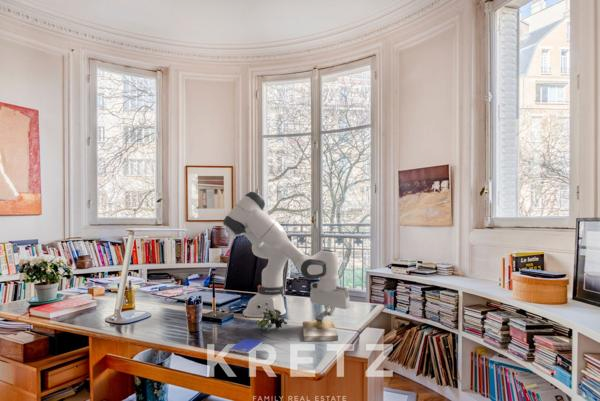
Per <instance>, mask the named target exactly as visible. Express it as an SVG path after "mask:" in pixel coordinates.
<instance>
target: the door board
mask: <svg viewBox="0 0 600 401" xmlns="http://www.w3.org/2000/svg"><path fill="white" fill-rule="evenodd" d="M302 331H303V341H304V342H321V341H322V342H323V341H324V342H325V341H327V342H329V341H332V342H333V341H339V334H338V332H337V329H336V327H335V324H334V321H332V320H327V321H325V320H321V321H318V320H316V319H313V320H312V321H302Z"/></svg>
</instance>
